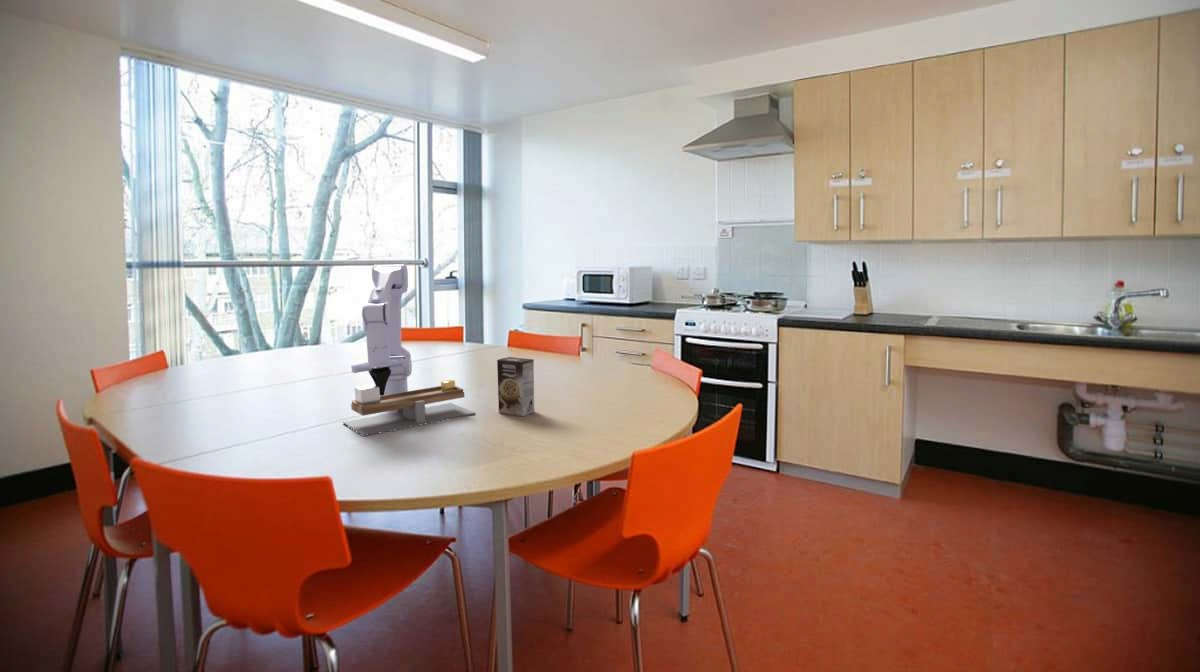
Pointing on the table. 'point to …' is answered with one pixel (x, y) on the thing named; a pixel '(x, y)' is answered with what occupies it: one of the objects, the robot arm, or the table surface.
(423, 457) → the table surface
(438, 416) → the beam stand
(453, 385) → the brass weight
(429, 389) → the beam
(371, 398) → the steel block
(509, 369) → the coffee box
